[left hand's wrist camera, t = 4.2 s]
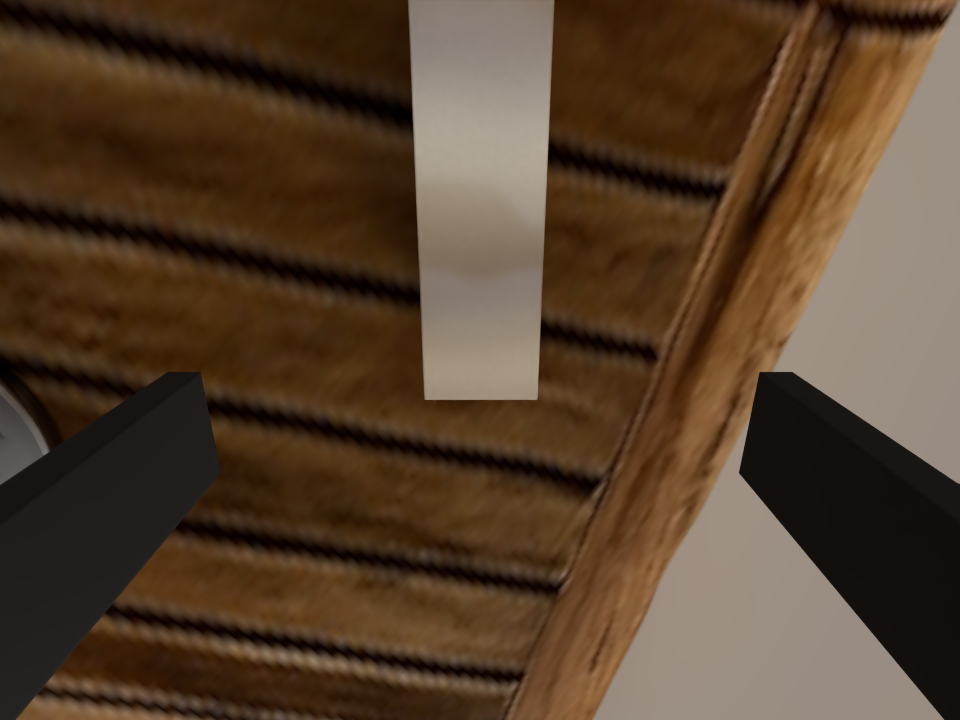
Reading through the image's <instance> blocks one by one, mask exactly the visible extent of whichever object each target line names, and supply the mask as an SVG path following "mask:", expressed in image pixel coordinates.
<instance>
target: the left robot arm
mask: <svg viewBox="0 0 960 720" xmlns="http://www.w3.org/2000/svg"><path fill="white" fill-rule="evenodd" d="M220 474H221V471H220V466H219V461H218V456H217V451H216V446H215V441H214V436H213V431H212V427H211V422H210V417H209V412H208V407H207V402H206V397H205V392H204V387H203V383H202V378H201V373H200V372H167V373H166V374H164V375H163V376H161V377H160V378H158V379H157V380H155V381H154V382H152V383H151V384H149V385H148V386H146V387H145V388H143V389H142V390H140V391H139V392H137V393H136V394H134V395H133V396H131V397H130V398H129V399H127V400H126V401H124V402H123V403H121V404H120V405H118V406H117V407H115V408H114V409H112V410H111V411H109V412H108V413H106V414H105V415H103V416H102V417H100V418H99V419H97V420H96V421H94V422H93V423H91V424H90V425H88V426H87V427H85V428H84V429H82V430H81V431H80V432H78V433H77V434H75V435H74V436H72V437H71V438H69V439H68V440H66V441H65V442H63V443H61V441H60V438H59V436H58V434H57V432H56V430H55V428H54V426H53V424H52V422H51V421H50V419H49V418H48V416H47V415H46V413H45V411H44V410H43V409H42V407H41V406H40V405H39V404H38V402H37V401H36V400H35V399H34V397H33V396H32V395H31V394H30V393H29V392H28V391H27V390H26V389H25V388H24V387H23V386H22V385H21V384H20V383H19V382H18V381H17V380H16V379H15V378H14V377H13V376H11V375H10V374H9V373H8V372H7V371H5V370H4V369H3V368H2V367H0V720H16V719H17V717H18V716H19V715H20V714H21V713H22V711H23V710H24V709H25V708H26V707H27V705H28V704H29V703H30V702H31V701H32V699H33V698H34V697H35V696H36V695H37V693H38V692H39V691H40V690H41V689H42V687H43V686H44V685H45V684H46V683H47V681H48V680H49V679H50V678H51V677H52V675H53V674H54V673H55V672H56V671H57V669H58V668H59V667H60V666H61V665H62V663H63V662H64V661H65V660H66V659H67V657H68V656H69V655H70V654H71V653H72V651H73V650H74V649H75V648H76V647H77V645H78V644H79V643H80V642H81V641H82V639H83V638H84V637H85V636H86V635H87V633H88V632H89V631H90V630H91V629H92V627H93V626H94V625H95V624H96V623H97V621H98V620H99V619H100V618H101V617H102V615H103V614H104V613H105V612H106V611H107V609H108V608H109V607H110V606H111V604H112V603H113V602H114V601H115V600H116V598H117V597H118V596H119V595H120V594H121V592H122V591H123V590H124V589H125V588H126V586H127V585H128V584H129V583H130V582H131V580H132V579H133V578H134V577H135V576H136V574H137V573H138V572H139V571H140V570H141V568H142V567H143V566H144V565H145V564H146V562H147V561H148V560H149V559H150V558H151V556H152V555H153V554H154V553H155V552H156V550H157V549H158V548H159V547H160V546H161V544H162V543H163V542H164V541H165V540H166V538H167V537H168V536H169V535H170V534H171V532H172V531H173V530H174V529H175V528H176V526H177V525H178V524H179V523H180V522H181V520H182V519H183V518H184V517H185V516H186V514H187V513H188V512H189V511H190V510H191V508H192V507H193V506H194V505H195V504H196V502H197V501H198V500H199V499H200V498H201V496H202V495H203V494H204V493H205V492H206V490H207V489H208V488H209V487H210V486H211V484H212V483H213V482H214V481H215V480H216V478H217V477H218V476H219V475H220ZM739 474H740V475H741V476H742V477H743V478H744V480H745V481H746V482H747V483H748V484H749V486H750V487H751V488H752V489H753V490H754V492H755V493H756V494H757V495H758V496H759V498H760V499H761V500H762V501H763V502H764V504H765V505H766V506H767V507H768V508H769V510H770V511H771V512H772V513H773V514H774V516H775V517H776V518H777V519H778V520H779V522H780V523H781V524H782V525H783V526H784V528H785V529H786V530H787V531H788V532H789V534H790V535H791V536H792V537H793V538H794V540H795V541H796V542H797V543H798V544H799V546H800V547H801V548H802V549H803V550H804V552H805V553H806V554H807V555H808V556H809V558H810V559H811V560H812V561H813V562H814V564H815V565H816V566H817V567H818V568H819V570H820V571H821V572H822V573H823V574H824V576H825V577H826V578H827V579H828V580H829V582H830V583H831V584H832V585H833V586H834V588H835V589H836V590H837V591H838V592H839V594H840V595H841V596H842V597H843V598H844V600H845V601H846V602H847V603H848V604H849V606H850V607H851V608H852V609H853V610H854V612H855V613H856V614H857V615H858V617H859V618H860V619H861V620H862V621H863V622H864V624H865V625H866V626H867V627H868V629H869V630H870V631H871V632H872V633H873V634H874V636H875V637H876V638H877V639H878V641H879V642H880V643H881V644H882V645H883V647H884V648H885V649H886V650H887V651H888V652H889V654H890V655H891V656H892V657H893V659H894V660H895V661H896V662H897V663H898V664H899V666H900V667H901V668H902V669H903V671H904V672H905V673H906V674H907V675H908V677H909V678H910V679H911V680H912V681H913V683H914V684H915V685H916V686H917V687H918V689H919V690H920V691H921V692H922V693H923V695H924V696H925V697H926V698H927V699H928V701H929V702H930V703H931V704H932V705H933V707H934V708H935V709H936V710H937V711H938V713H939V714H940V715H941V716H942V717H943V719H944V720H960V484H958V483H956V482H955V481H953V480H952V479H950V478H949V477H947V476H946V475H944V474H943V473H941V472H940V471H938V470H937V469H935V468H934V467H932V466H931V465H929V464H928V463H926V462H925V461H923V460H922V459H921V458H919V457H918V456H916V455H915V454H913V453H912V452H910V451H909V450H907V449H906V448H904V447H903V446H901V445H900V444H898V443H897V442H895V441H894V440H892V439H891V438H889V437H888V436H886V435H885V434H883V433H882V432H880V431H879V430H878V429H876V428H875V427H873V426H872V425H870V424H869V423H867V422H866V421H864V420H863V419H861V418H860V417H858V416H857V415H855V414H854V413H852V412H851V411H849V410H848V409H846V408H845V407H843V406H842V405H840V404H839V403H837V402H836V401H834V400H833V399H831V398H830V397H829V396H827V395H826V394H824V393H823V392H821V391H820V390H818V389H817V388H815V387H814V386H812V385H811V384H809V383H808V382H806V381H805V380H803V379H802V378H800V377H799V376H797V375H796V374H794V373H793V372H760V373H759V378H758V383H757V387H756V392H755V397H754V402H753V407H752V412H751V417H750V422H749V427H748V431H747V437H746V441H745V446H744V451H743V456H742V461H741V466H740V471H739Z"/></svg>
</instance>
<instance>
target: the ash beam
mask: <svg viewBox="0 0 960 720" xmlns="http://www.w3.org/2000/svg"><path fill="white" fill-rule="evenodd" d="M408 13H409V37H410V61H411V85H412V110H413V134H414V158H415V182H416V206H417V230H418V254H419V278H420V303H421V327H422V351H423V375H424V398H425V400H536V399H537V394H538V371H539V348H540V324H541V301H542V277H543V254H544V231H545V207H546V184H547V161H548V137H549V114H550V90H551V67H552V44H553V20H554V0H408Z"/></svg>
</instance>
